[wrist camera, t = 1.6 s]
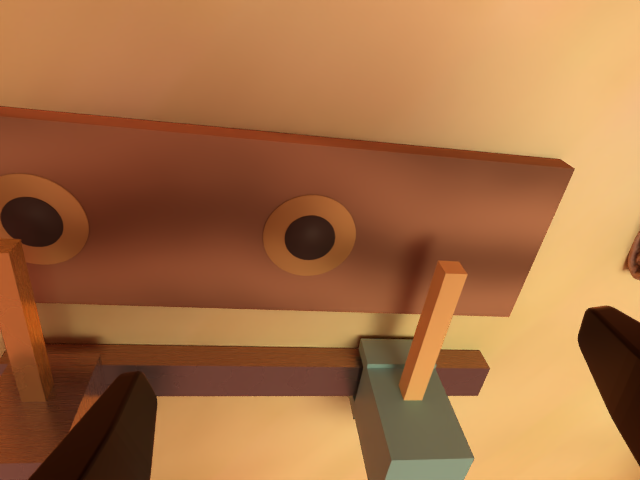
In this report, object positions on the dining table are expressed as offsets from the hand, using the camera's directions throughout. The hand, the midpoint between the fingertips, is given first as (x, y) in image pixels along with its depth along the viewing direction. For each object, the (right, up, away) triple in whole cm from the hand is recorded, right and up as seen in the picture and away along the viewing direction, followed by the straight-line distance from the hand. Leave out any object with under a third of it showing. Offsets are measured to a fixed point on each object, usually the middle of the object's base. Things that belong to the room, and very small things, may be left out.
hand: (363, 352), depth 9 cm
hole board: (-3, +3, +13) cm, 14 cm away
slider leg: (+4, -2, +17) cm, 18 cm away
